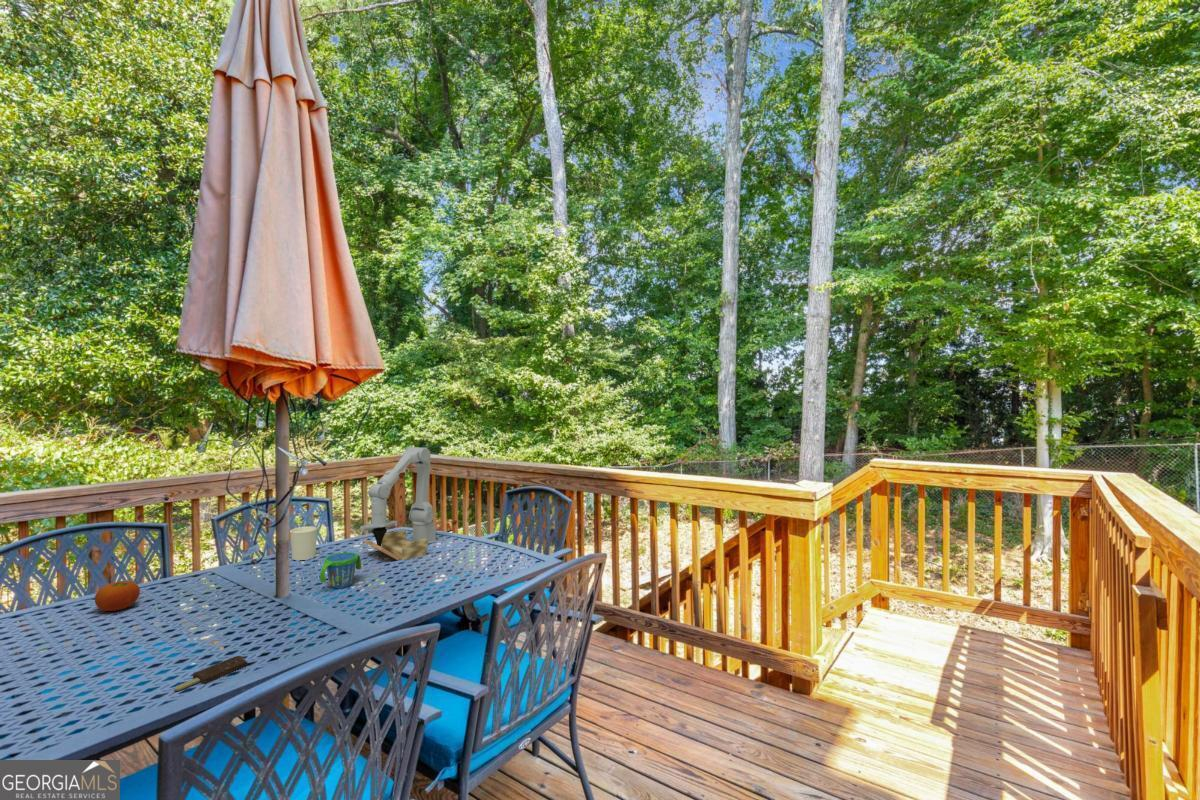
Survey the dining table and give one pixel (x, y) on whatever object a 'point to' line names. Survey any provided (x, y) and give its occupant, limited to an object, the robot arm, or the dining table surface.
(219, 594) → the dining table surface
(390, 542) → the cart bed
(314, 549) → the candle holder
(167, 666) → the dining table surface
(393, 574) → the dining table surface
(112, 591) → the fruit
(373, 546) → the tailgate
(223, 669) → the ice cream bar
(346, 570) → the snack cup
